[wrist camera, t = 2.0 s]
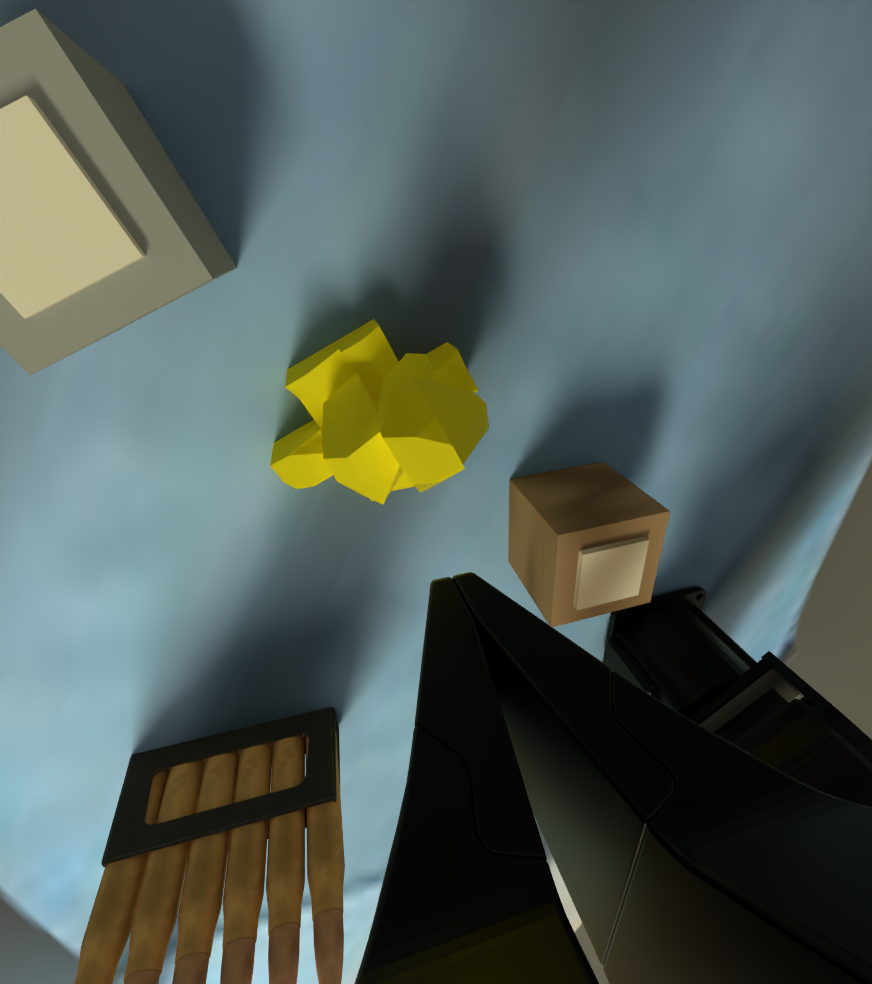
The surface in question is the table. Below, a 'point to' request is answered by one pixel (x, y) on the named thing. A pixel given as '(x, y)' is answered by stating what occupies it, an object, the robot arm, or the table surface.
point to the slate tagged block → (85, 203)
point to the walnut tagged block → (584, 541)
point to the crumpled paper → (380, 417)
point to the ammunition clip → (224, 856)
